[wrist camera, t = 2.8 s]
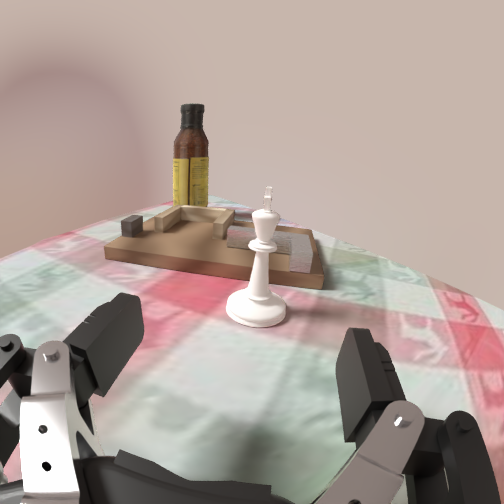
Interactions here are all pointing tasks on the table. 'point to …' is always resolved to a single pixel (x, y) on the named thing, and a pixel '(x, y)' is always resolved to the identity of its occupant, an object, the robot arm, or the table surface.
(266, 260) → the chess piece
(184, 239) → the socket board
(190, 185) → the sauce bottle
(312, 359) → the table surface
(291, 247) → the keeper bolt
